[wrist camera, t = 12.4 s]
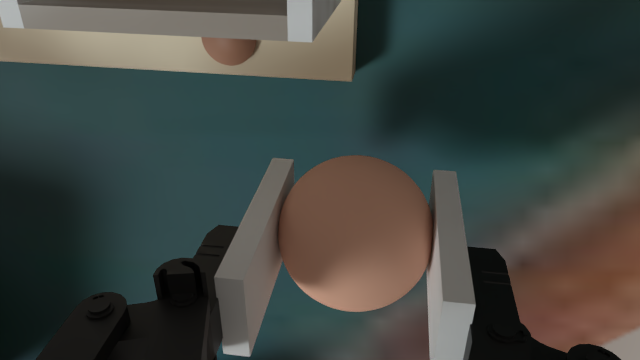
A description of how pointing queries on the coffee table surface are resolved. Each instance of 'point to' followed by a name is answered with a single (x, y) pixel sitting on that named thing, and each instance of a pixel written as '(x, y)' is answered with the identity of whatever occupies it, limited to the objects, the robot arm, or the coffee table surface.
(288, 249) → the terracotta ball
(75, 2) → the rack
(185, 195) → the coffee table surface
